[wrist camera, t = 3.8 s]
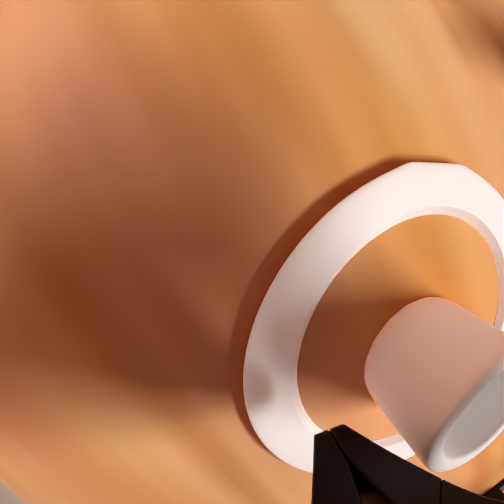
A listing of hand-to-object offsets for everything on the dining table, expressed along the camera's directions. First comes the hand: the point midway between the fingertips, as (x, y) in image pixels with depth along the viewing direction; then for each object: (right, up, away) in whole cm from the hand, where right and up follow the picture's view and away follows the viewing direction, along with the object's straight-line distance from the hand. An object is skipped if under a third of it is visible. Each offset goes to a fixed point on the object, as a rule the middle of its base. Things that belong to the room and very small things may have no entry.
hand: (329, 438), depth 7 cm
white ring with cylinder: (+4, +2, +3) cm, 5 cm away
